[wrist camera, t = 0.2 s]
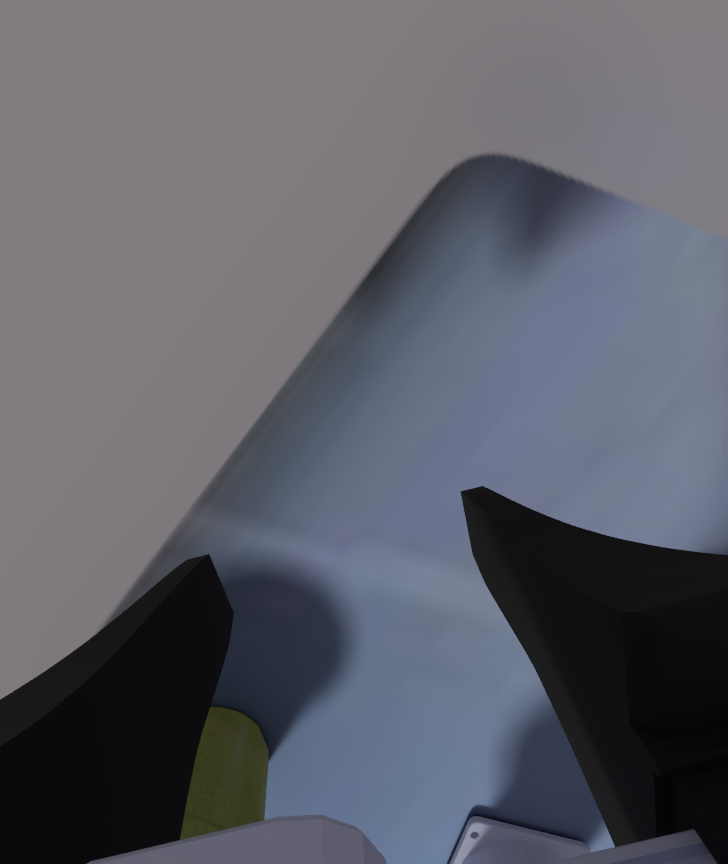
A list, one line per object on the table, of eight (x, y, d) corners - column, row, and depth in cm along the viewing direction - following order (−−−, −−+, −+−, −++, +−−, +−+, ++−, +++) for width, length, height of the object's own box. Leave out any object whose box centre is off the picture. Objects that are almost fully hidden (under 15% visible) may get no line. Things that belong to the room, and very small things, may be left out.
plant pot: (171, 655, 24) (69, 821, 16) (323, 713, 25) (305, 901, 16) (116, 780, 26) (-4, 994, 17) (261, 831, 26) (215, 1059, 18)
